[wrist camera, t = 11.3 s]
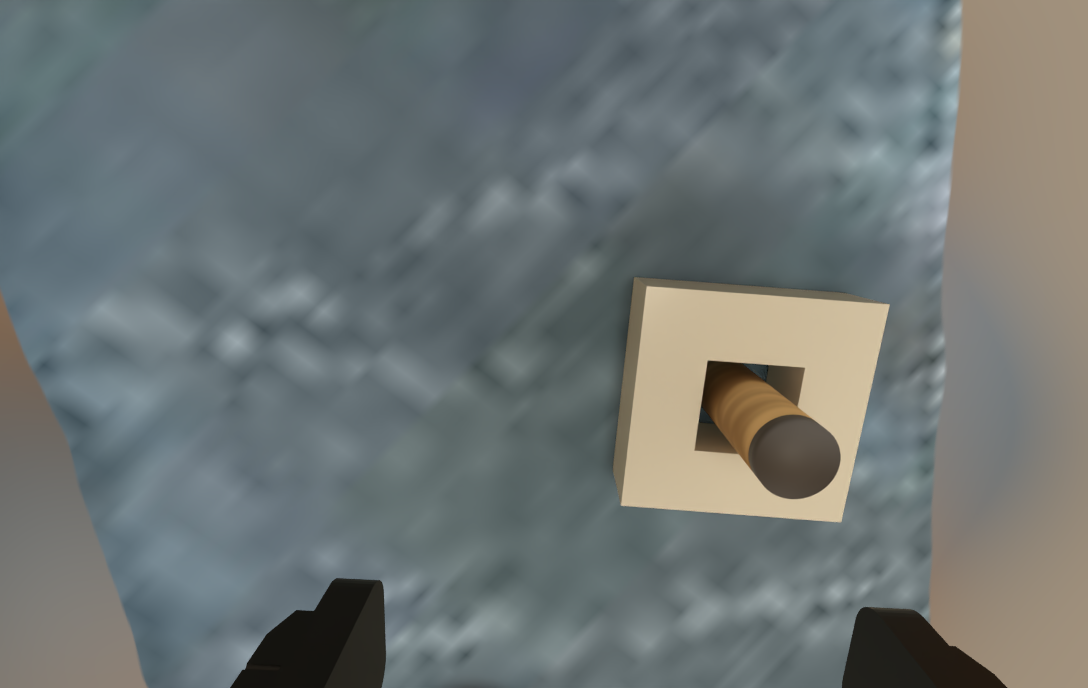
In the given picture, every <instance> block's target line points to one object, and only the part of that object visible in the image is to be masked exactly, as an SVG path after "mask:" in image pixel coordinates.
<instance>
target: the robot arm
mask: <svg viewBox="0 0 1088 688" xmlns="http://www.w3.org/2000/svg"><path fill="white" fill-rule="evenodd" d="M385 663H386V644H385V614H384V589H383V584H382V582H381V581H380V580H362V579H343V578H336V579H335V580H333V581H332V583H331V584H330V586H329V587H328V589H327V591H326V592H325V594H324V595H323V597H322V599H321V600H320V602H319V604H318V605H317V607H316V609H315V610H314V611H302V610H296V611H295V612H294V613H292V614H291V615H290V616H289V617H287V618H286V619H285V620H284V621H282V622H281V623H280V624H279V625H278V626H276V627H275V628H274V629H273V630H271V631H270V632H269V633H268V634H267V635H266V636H265V638H264V639H263V641H262V642H261V644H260V645H259V646H258V648H257V649H256V651H255V652H254V654H253V655H252V657H251V658H250V660H249V661H248V663H247V666H246V669H245V670H242V671H241V673H240V674H239V676H238V677H237V679H236V680H235V682H234V683H233V684H232V686H231V687H230V688H381V687H382V683H383V678H384V671H385ZM842 688H1007V687H1006V686H1005V685H1004V684H1003V683H1002V682H1001V681H1000V680H999V679H998V678H997V677H996V676H995V674H993V673H992V672H990V671H989V670H988V669H986V668H985V667H983V666H982V665H981V664H979V663H978V662H976V661H975V660H974V659H972V658H971V657H969V656H968V655H967V654H965V653H964V652H963V651H961V650H960V649H958V648H957V647H956V646H949V645H948V644H947V643H946V642H945V641H944V639H943V638H942V637H941V636H940V635H939V634H938V633H937V632H936V631H935V630H934V629H933V627H932V626H931V625H930V624H929V623H928V622H927V621H926V620H925V619H924V617H922V616H921V615H920V614H919V613H918V612H916V611H914V610H910V609H894V608H875V607H864V608H862V609H860V611H859V612H858V614H857V617H856V620H855V625H854V630H853V634H852V639H851V643H850V648H849V653H848V657H847V662H846V666H845V671H844V676H843V681H842Z"/></svg>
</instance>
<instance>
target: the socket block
mask: <svg viewBox="0 0 1088 688" xmlns="http://www.w3.org/2000/svg"><path fill="white" fill-rule="evenodd" d="M889 305H890V304H886V303H882V302H878V301H874V300H870V299H866V298H862V297H858V296H855V295H851V294H847V293H840V292H827V291H814V290H800V289H787V288H774V287H760V286H747V285H734V284H720V283H707V282H694V281H680V280H667V279H654V278H640V277H634V283H633V292H632V301H631V310H630V319H629V328H628V337H627V346H626V355H625V364H624V373H623V382H622V391H621V400H620V409H619V418H618V427H617V436H616V445H615V454H614V463H613V473H614V477H615V482H616V486H617V490H618V495H619V499H620V503H621V506H634V507H647V508H660V509H673V510H686V511H699V512H712V513H726V514H739V515H752V516H765V517H778V518H791V519H804V520H818V521H831V522H841V520H842V516H843V511H844V507H845V502H846V498H847V493H848V489H849V484H850V480H851V475H852V471H853V466H854V462H855V457H856V453H857V448H858V444H859V440H860V435H861V431H862V426H863V422H864V417H865V413H866V408H867V404H868V399H869V395H870V390H871V386H872V381H873V377H874V372H875V368H876V363H877V359H878V355H879V350H880V346H881V341H882V337H883V332H884V328H885V323H886V319H887V314H888V310H889ZM708 360H711V361H724V362H737V363H750V364H764V365H769V367H768V373H767V379H766V383H767V384H769V385H770V386H771V387H773V388H774V389H775V390H776V391H778V392H779V393H780V394H782V395H783V396H784V397H785V398H787V399H788V400H789V401H790V402H792V403H793V404H794V405H796V406H797V407H798V408H799V409H801V410H802V411H803V412H805V413H806V414H807V415H808V416H810V417H811V418H812V419H814V420H815V421H816V422H817V423H819V424H820V425H821V426H823V427H824V428H825V429H826V430H828V431H829V432H830V433H831V434H832V435H833V436H834V438H835V439H836V441H837V443H838V445H839V448H840V454H841V460H840V466H839V469H838V472H837V474H836V476H835V477H834V479H833V480H832V482H831V483H830V484H829V485H828V486H827V487H826V488H824V489H823V490H822V491H820V492H819V493H817V494H815V495H813V496H810V497H807V498H803V499H785V498H782V497H779V496H776V495H774V494H772V493H771V492H769V491H768V490H767V489H766V488H765V487H764V486H763V485H762V483H761V482H760V481H759V480H758V478H757V477H756V476H755V474H754V473H753V472H752V471H751V469H750V468H749V467H748V465H747V464H746V463H745V462H744V460H743V459H742V458H741V456H740V455H739V454H738V452H737V451H736V450H735V449H734V447H733V446H732V445H731V443H730V442H729V441H728V440H727V438H726V437H725V436H724V434H723V433H722V432H721V431H720V429H719V428H718V427H717V425H716V424H710V423H698V422H699V415H700V408H701V402H702V395H703V388H704V381H705V375H706V368H707V361H708Z"/></svg>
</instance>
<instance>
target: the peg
mask: <svg viewBox="0 0 1088 688" xmlns="http://www.w3.org/2000/svg"><path fill="white" fill-rule="evenodd" d="M701 406H702V407H703V409H704V410H705V411H706V413H707V414H708V415H709V416H710V418H711V419H712V420H713V422H714V423H715V424H716V425H717V427H718V428H719V429H720V431H721V432H722V433H723V434H724V436H725V437H726V438H727V440H728V441H729V442H730V443H731V445H732V446H733V447H734V449H735V450H736V451H737V452H738V454H739V455H740V456H741V458H742V459H743V460H744V462H745V463H746V464H747V465H748V467H749V468H750V469H751V471H752V472H753V473H754V474H755V476H756V477H757V478H758V480H759V481H760V482H761V483H762V485H763V486H764V487H765V488H766V489H767V490H768V491H769V492H771V493H772V494H774V495H776V496H779V497H782V498H785V499H803V498H807V497H810V496H813V495H815V494H817V493H819V492H820V491H822V490H823V489H824V488H826V487H827V486H828V485H829V484H830V483H831V482H832V480H833V479H834V477H835V476H836V474H837V472H838V469H839V466H840V460H841V454H840V448H839V445H838V443H837V441H836V439H835V438H834V436H833V435H832V434H831V433H830V432H829V431H828V430H826V429H825V428H824V427H823V426H821V425H820V424H819V423H817V422H816V421H815V420H814V419H812V418H811V417H810V416H808V415H807V414H806V413H805V412H803V411H802V410H801V409H799V408H798V407H797V406H796V405H794V404H793V403H792V402H790V401H789V400H788V399H787V398H785V397H784V396H783V395H782V394H780V393H779V392H778V391H776V390H775V389H774V388H773V387H771V386H770V385H769V384H767V383H766V382H765V381H764V380H762V379H761V378H760V377H758V376H757V375H756V374H755V373H753V372H752V371H751V370H749V369H748V368H747V367H746V366H744V365H743V364H742V363H737V362H724V361H709V362H707V368H706V375H705V381H704V388H703V395H702V402H701Z"/></svg>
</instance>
